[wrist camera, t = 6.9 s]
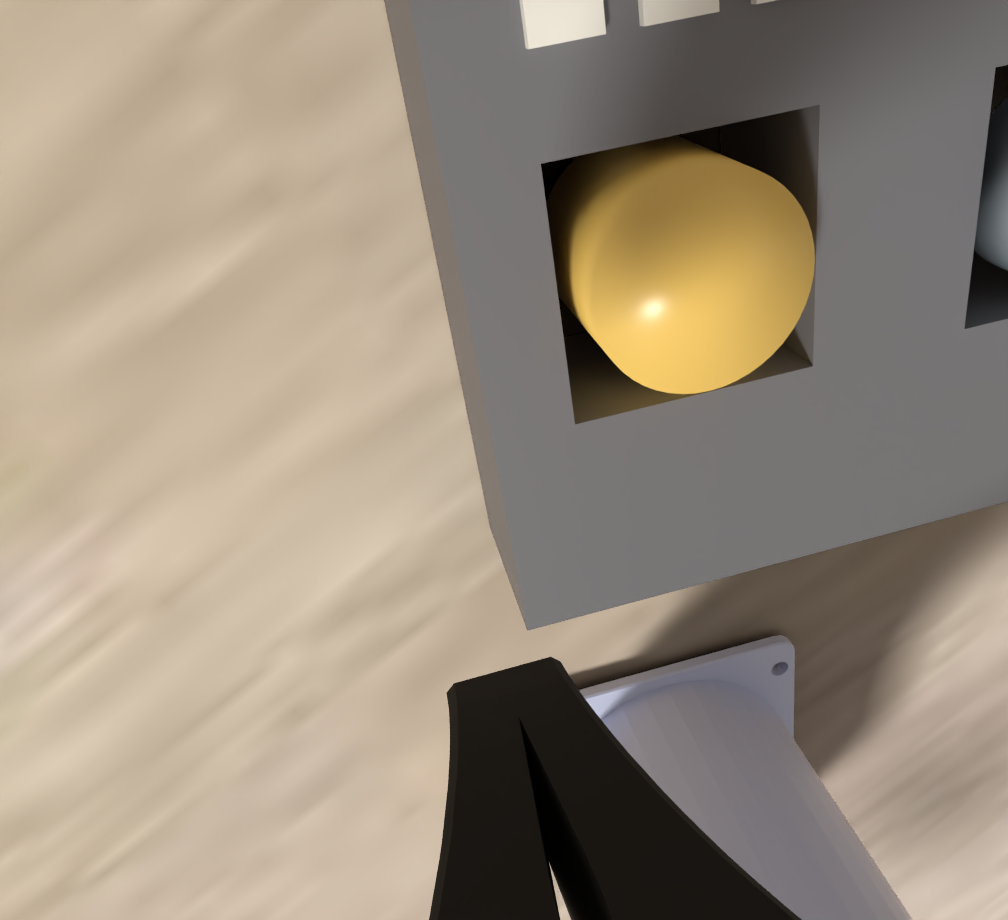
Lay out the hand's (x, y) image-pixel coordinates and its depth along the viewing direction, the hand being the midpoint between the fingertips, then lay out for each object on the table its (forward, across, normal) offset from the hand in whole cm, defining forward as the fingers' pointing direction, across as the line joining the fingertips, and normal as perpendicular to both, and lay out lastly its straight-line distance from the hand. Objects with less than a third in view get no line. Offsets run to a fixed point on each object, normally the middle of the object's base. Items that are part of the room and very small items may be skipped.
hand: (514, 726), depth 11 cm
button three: (+9, -5, -3) cm, 11 cm away
